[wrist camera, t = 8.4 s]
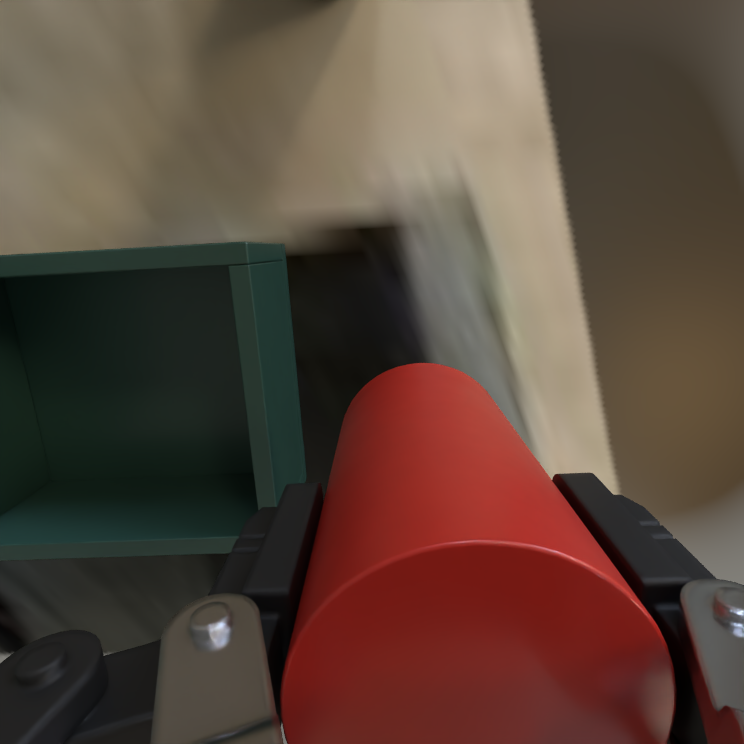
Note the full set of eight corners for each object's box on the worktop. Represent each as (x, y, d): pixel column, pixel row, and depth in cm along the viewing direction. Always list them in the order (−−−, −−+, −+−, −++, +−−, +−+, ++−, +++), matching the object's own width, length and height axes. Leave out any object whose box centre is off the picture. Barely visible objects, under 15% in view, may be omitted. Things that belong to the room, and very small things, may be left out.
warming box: (284, 243, 24) (246, 241, 17) (306, 477, 27) (281, 552, 20) (-4, 259, 24) (-148, 263, 18) (51, 487, 27) (-55, 563, 21)
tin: (334, 366, 14) (257, 548, 6) (504, 358, 14) (700, 534, 5) (345, 517, 16) (297, 860, 7) (502, 511, 15) (659, 857, 7)
